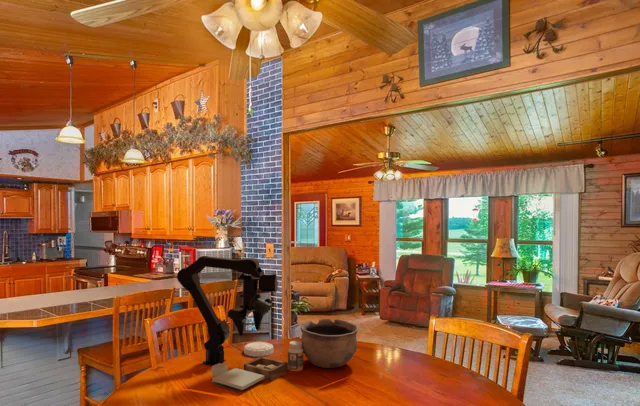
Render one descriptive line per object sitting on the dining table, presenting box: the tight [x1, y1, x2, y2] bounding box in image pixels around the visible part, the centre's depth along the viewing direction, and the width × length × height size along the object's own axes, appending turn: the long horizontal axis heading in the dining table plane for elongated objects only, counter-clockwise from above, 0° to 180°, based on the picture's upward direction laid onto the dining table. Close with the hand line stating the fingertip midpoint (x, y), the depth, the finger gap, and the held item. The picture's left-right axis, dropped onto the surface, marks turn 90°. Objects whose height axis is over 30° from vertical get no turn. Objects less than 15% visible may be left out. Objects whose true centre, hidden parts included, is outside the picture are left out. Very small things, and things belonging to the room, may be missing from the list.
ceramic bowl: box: [299, 318, 359, 369], centre depth 161 cm, size 22×22×15 cm
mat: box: [210, 381, 241, 392], centre depth 141 cm, size 12×10×1 cm
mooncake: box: [243, 341, 274, 358], centre depth 173 cm, size 12×12×4 cm
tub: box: [243, 356, 289, 383], centre depth 150 cm, size 12×10×4 cm
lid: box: [211, 363, 264, 391], centre depth 141 cm, size 17×11×4 cm, turn 59°
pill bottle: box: [287, 340, 304, 372], centre depth 155 cm, size 6×6×10 cm
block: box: [265, 365, 277, 370], centre depth 150 cm, size 3×3×2 cm
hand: (249, 332), depth 160 cm, fingers open, 9 cm apart
